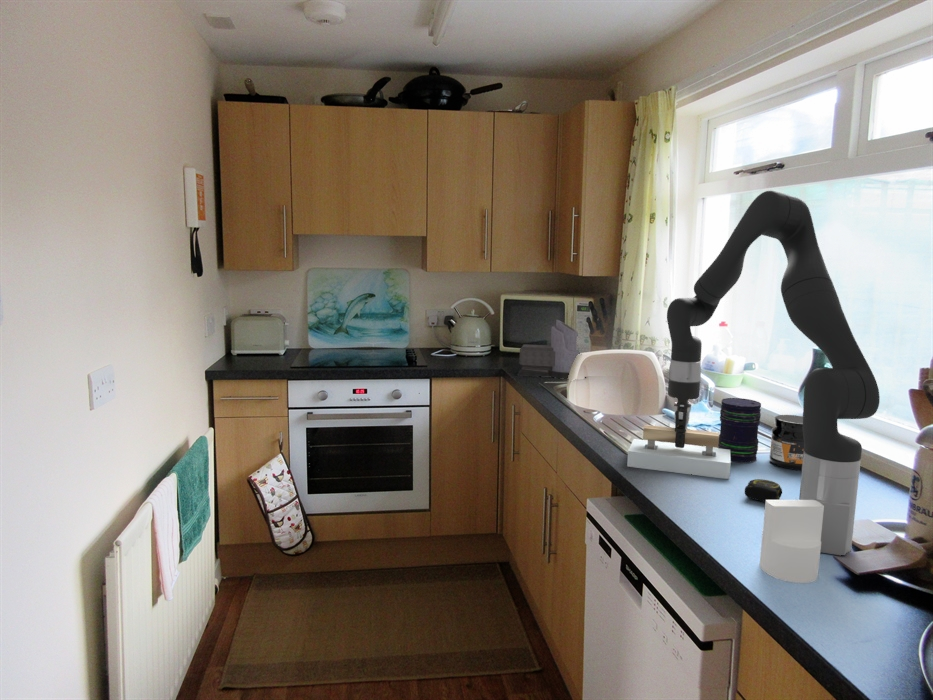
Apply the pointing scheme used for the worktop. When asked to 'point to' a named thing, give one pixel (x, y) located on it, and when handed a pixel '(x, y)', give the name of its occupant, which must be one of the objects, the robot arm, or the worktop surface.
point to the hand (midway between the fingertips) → (680, 444)
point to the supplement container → (787, 442)
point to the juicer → (551, 354)
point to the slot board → (680, 459)
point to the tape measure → (763, 490)
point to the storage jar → (740, 428)
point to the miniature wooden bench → (691, 437)
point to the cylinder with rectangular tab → (792, 539)
